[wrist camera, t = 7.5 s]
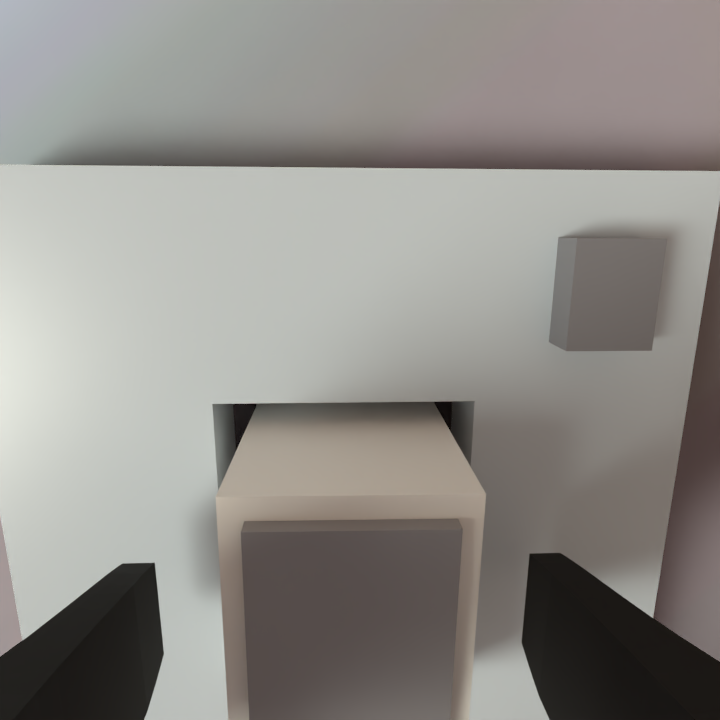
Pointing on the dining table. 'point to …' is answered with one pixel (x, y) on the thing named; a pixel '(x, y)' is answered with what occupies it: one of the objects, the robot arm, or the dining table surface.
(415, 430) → the plug block
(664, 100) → the dining table surface
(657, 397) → the socket plate
